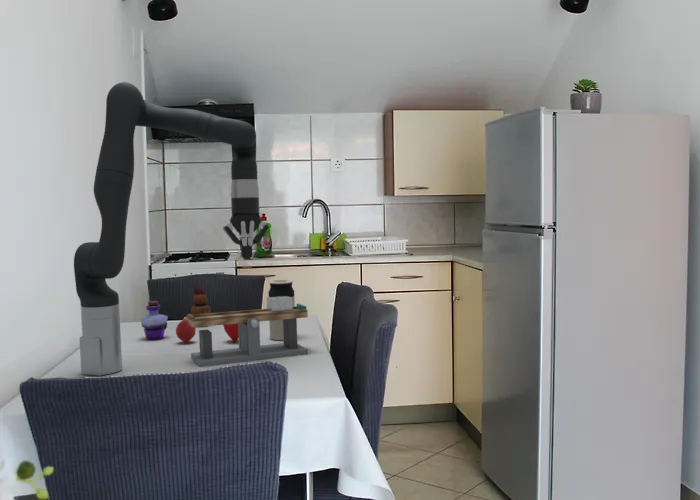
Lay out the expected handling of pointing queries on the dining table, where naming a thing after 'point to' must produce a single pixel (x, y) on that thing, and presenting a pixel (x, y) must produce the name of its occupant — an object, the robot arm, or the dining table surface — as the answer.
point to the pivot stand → (249, 345)
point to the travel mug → (279, 290)
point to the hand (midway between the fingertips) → (246, 259)
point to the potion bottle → (154, 322)
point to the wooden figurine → (200, 302)
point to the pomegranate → (185, 331)
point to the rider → (279, 304)
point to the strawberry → (232, 331)
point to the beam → (244, 316)
